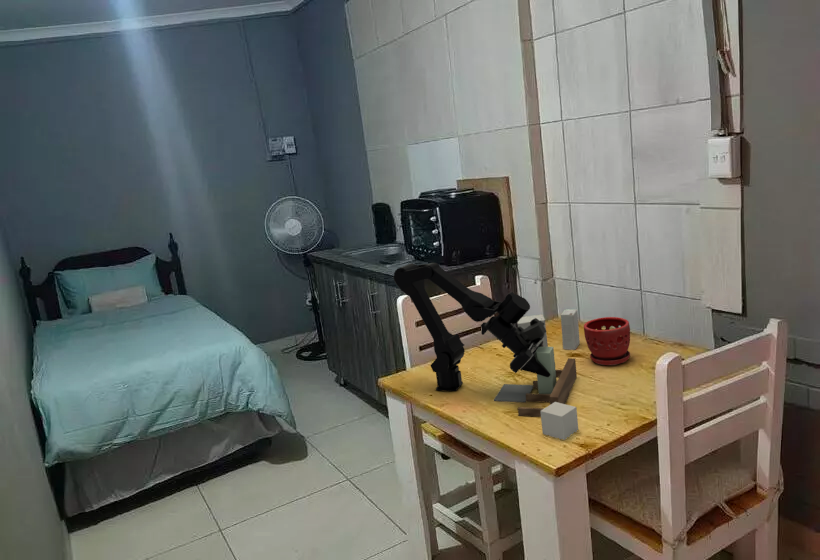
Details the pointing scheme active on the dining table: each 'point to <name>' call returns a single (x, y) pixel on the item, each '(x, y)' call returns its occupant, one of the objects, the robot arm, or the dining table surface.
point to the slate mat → (513, 393)
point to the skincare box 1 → (525, 322)
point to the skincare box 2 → (570, 329)
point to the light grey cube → (559, 420)
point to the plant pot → (608, 340)
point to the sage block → (548, 361)
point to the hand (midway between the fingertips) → (551, 372)
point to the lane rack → (558, 393)
